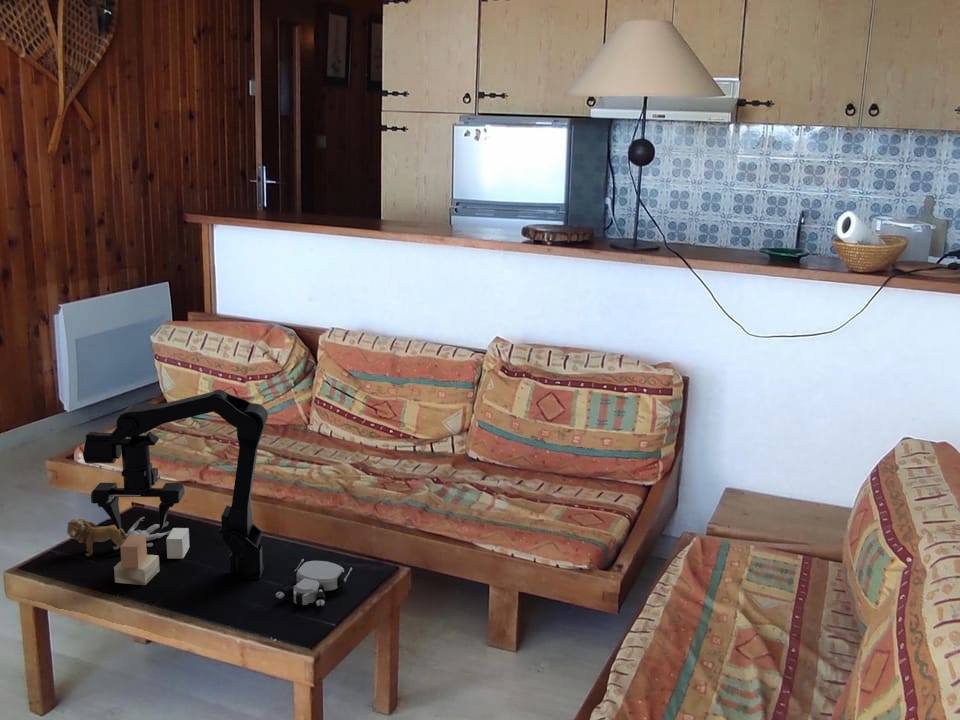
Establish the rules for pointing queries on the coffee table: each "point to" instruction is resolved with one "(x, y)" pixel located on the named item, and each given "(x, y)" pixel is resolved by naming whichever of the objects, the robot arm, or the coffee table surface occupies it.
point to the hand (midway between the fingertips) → (140, 528)
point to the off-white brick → (178, 543)
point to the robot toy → (314, 582)
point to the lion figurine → (94, 533)
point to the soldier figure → (146, 532)
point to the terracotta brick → (133, 551)
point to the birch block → (138, 571)
